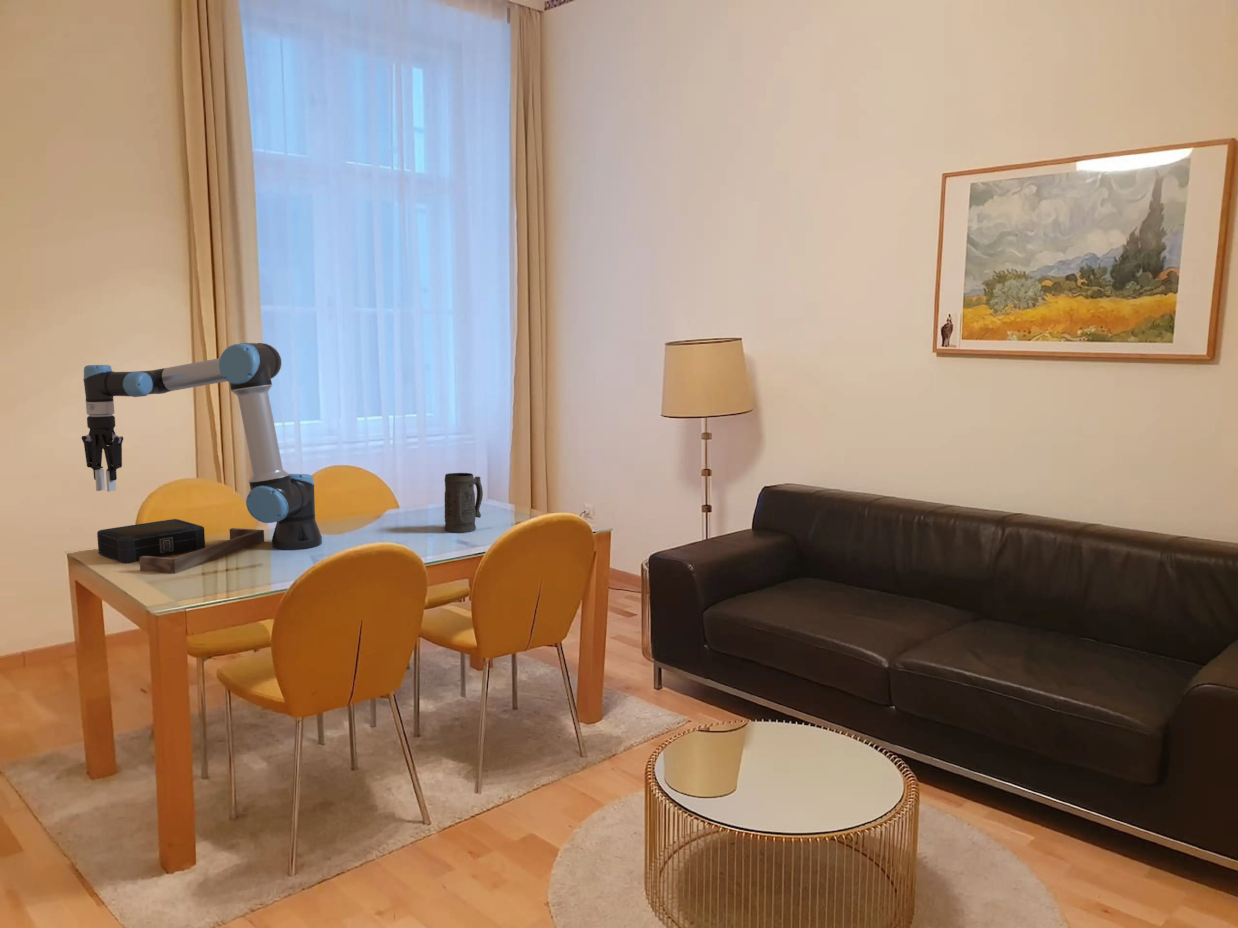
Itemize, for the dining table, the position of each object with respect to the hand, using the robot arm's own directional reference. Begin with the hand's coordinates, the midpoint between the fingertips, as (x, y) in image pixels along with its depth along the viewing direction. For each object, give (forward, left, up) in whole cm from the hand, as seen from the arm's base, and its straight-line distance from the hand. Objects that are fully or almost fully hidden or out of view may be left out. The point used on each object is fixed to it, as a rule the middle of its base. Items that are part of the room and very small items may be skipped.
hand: (106, 490), depth 284 cm
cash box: (-16, 0, -19) cm, 25 cm away
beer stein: (-95, -57, -19) cm, 112 cm away
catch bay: (-35, 0, -19) cm, 39 cm away
